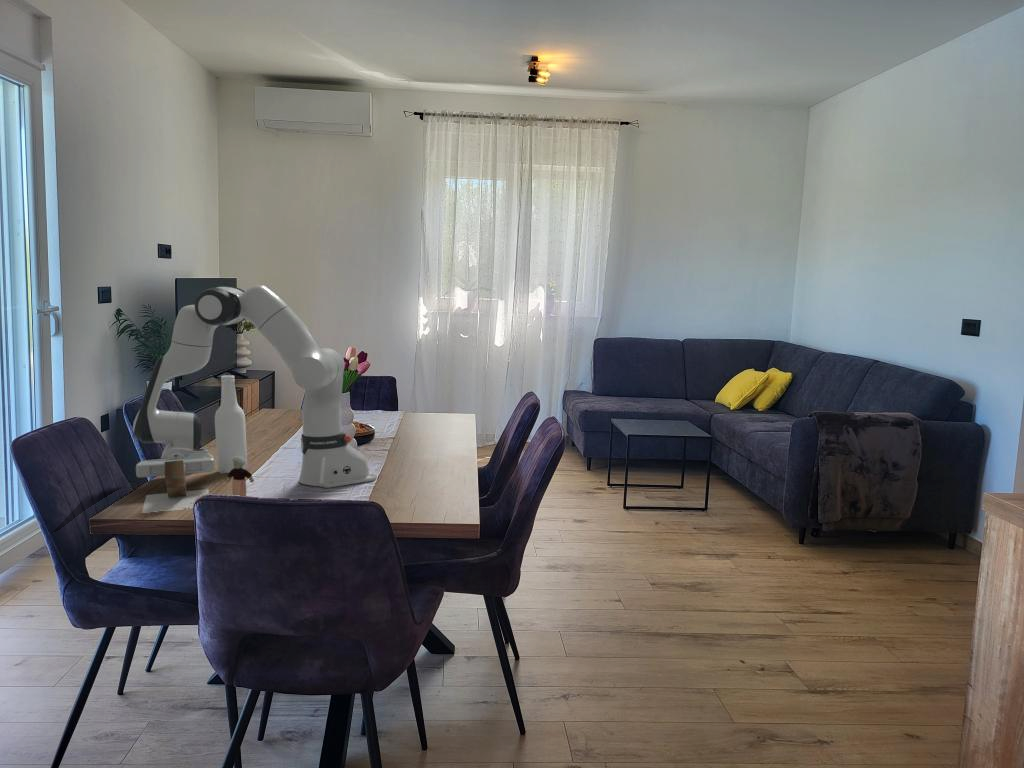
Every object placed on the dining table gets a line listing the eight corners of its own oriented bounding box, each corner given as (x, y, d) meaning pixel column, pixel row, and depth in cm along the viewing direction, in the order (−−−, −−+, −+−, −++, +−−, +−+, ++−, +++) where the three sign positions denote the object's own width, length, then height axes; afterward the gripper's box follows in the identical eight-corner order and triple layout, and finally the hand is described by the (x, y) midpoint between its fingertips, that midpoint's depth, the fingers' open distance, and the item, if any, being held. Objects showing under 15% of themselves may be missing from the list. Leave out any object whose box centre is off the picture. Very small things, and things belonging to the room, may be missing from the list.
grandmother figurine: (224, 503, 206) (221, 457, 205) (228, 499, 210) (225, 454, 208) (253, 503, 207) (251, 457, 205) (256, 499, 211) (254, 453, 209)
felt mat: (208, 490, 219) (208, 489, 219) (208, 508, 202) (208, 506, 202) (146, 496, 213) (146, 495, 213) (141, 515, 196) (141, 513, 196)
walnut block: (185, 481, 214) (183, 460, 205) (186, 496, 212) (183, 475, 202) (168, 483, 212) (164, 461, 203) (168, 497, 210) (164, 476, 201)
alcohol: (216, 475, 235) (210, 378, 231) (219, 468, 244) (213, 374, 239) (246, 473, 238) (241, 377, 233) (248, 466, 246) (243, 373, 242)
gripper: (136, 454, 218) (132, 464, 206) (213, 448, 226) (214, 457, 213) (137, 476, 219) (133, 487, 206) (214, 470, 227) (215, 480, 214)
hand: (175, 472), depth 210 cm, fingers closed, pressing on walnut block
